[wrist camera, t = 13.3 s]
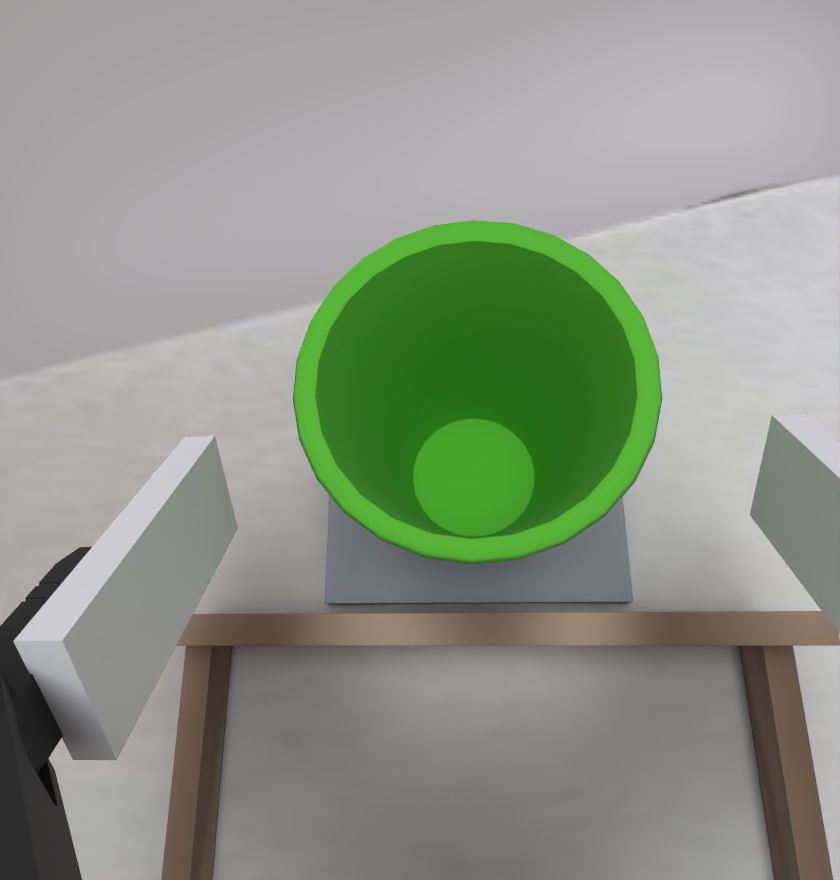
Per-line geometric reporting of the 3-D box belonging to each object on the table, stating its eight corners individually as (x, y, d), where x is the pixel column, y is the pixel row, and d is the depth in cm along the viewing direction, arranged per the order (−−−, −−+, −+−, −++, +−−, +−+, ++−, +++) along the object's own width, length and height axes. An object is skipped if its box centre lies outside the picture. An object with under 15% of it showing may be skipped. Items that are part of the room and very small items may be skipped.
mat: (329, 604, 25) (324, 603, 24) (338, 379, 28) (334, 372, 27) (628, 602, 24) (632, 601, 23) (605, 369, 27) (608, 361, 26)
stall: (172, 1017, 22) (86, 1127, 17) (210, 617, 26) (149, 614, 21) (832, 1052, 20) (946, 1188, 15) (762, 615, 24) (834, 611, 19)
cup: (541, 628, 23) (595, 627, 13) (330, 539, 25) (227, 475, 15) (613, 420, 26) (709, 276, 15) (414, 351, 27) (377, 179, 17)
